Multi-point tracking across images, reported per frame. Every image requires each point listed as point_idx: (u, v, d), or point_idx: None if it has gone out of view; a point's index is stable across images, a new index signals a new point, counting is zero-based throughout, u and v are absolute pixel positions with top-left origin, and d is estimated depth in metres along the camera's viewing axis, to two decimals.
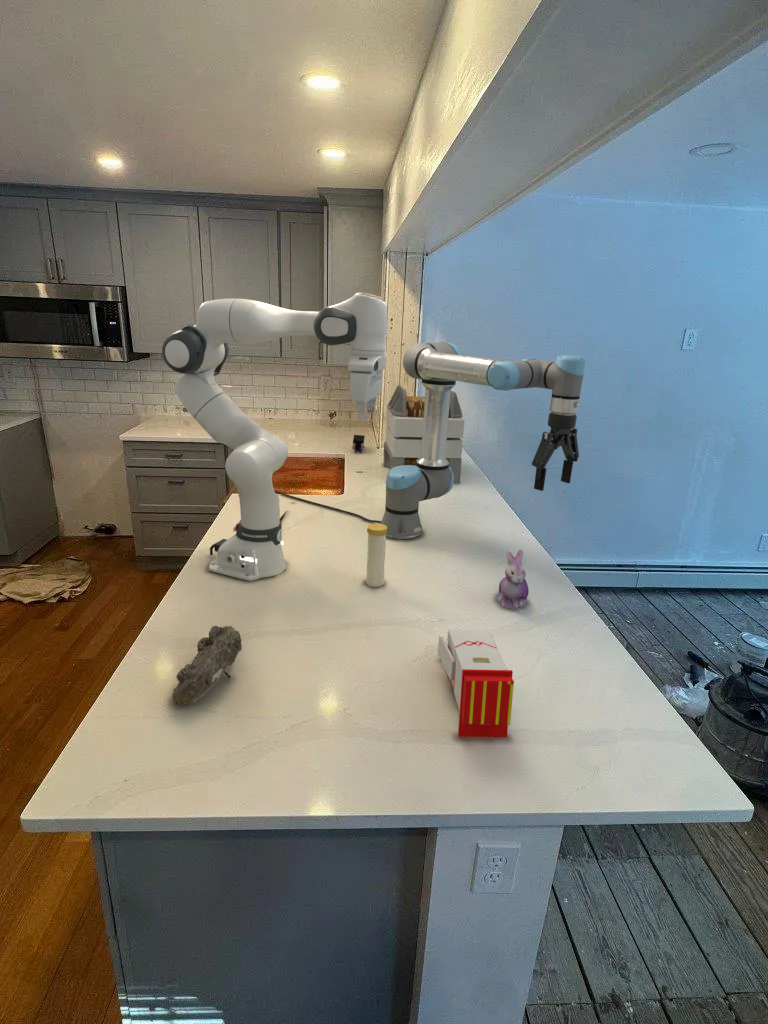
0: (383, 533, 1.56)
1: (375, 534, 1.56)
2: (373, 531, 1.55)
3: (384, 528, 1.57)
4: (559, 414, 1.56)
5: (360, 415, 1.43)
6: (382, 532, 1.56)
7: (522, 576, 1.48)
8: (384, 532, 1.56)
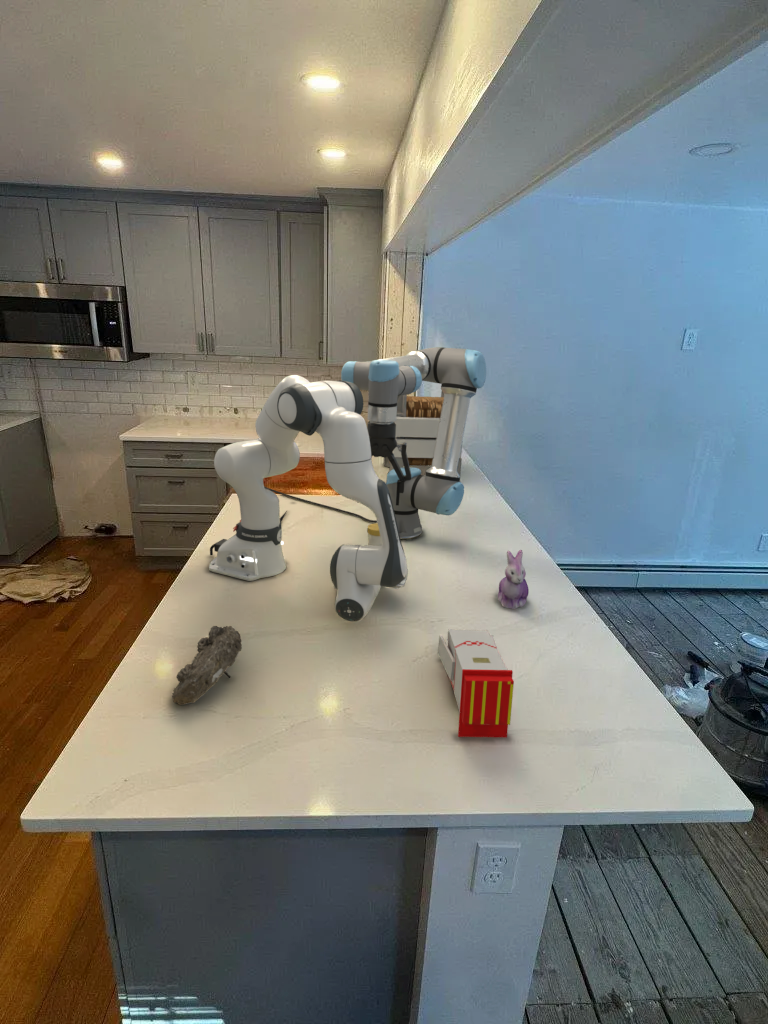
0: None
1: (375, 534, 1.56)
2: (373, 531, 1.55)
3: None
4: None
5: None
6: None
7: (522, 576, 1.48)
8: None
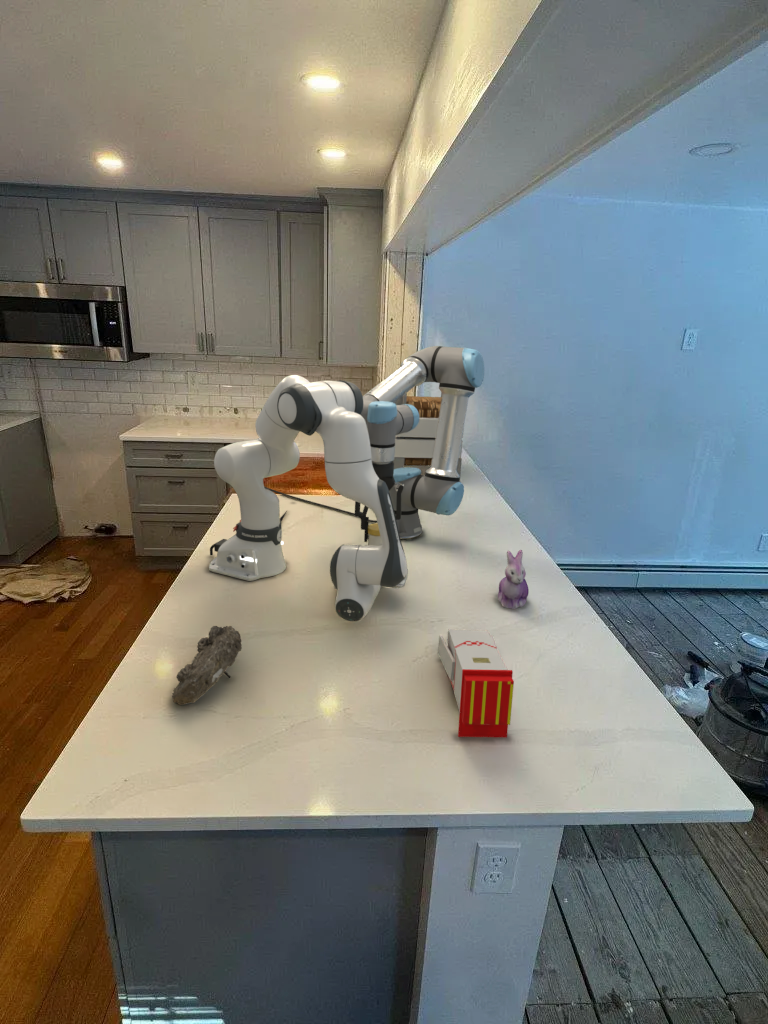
0: None
1: (375, 534, 1.56)
2: (373, 531, 1.55)
3: None
4: None
5: None
6: None
7: (522, 576, 1.48)
8: None
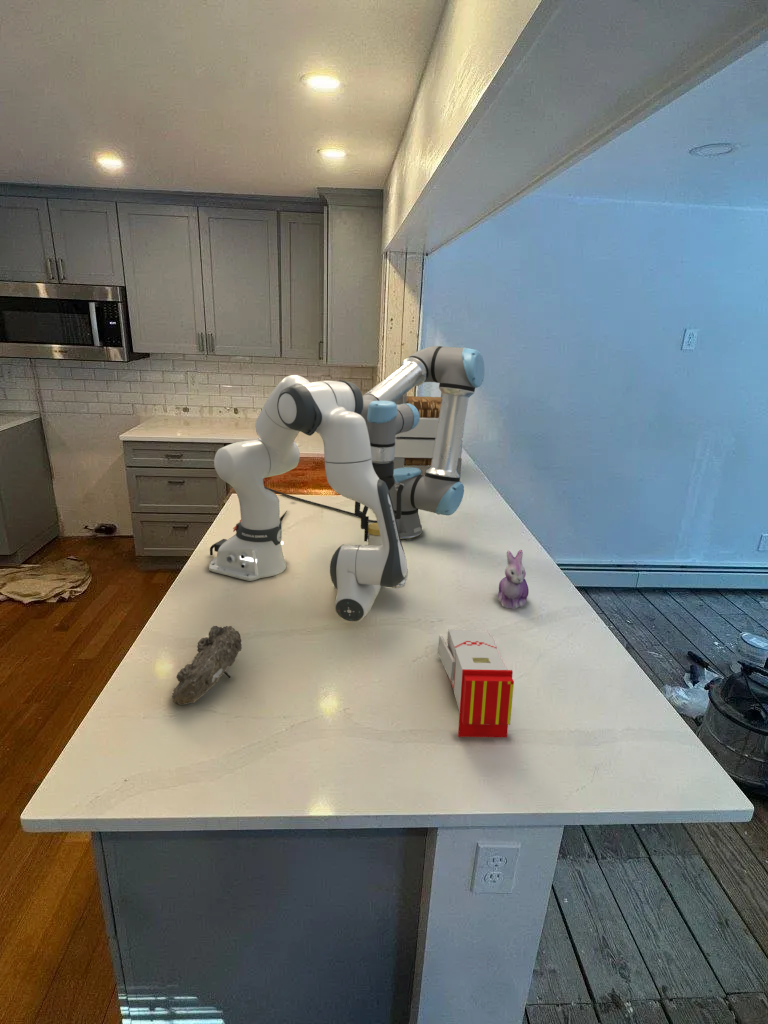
0: None
1: None
2: None
3: None
4: None
5: None
6: None
7: (522, 576, 1.48)
8: None
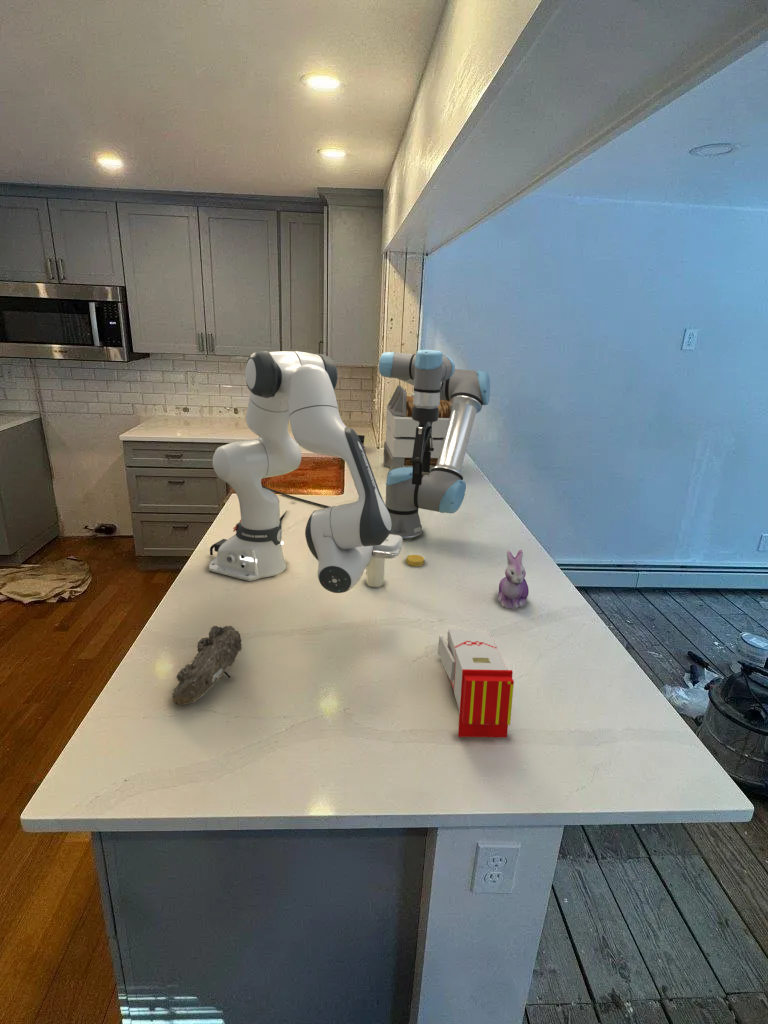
0: None
1: None
2: None
3: (410, 555, 1.79)
4: None
5: None
6: None
7: (522, 576, 1.48)
8: None
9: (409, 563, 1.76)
